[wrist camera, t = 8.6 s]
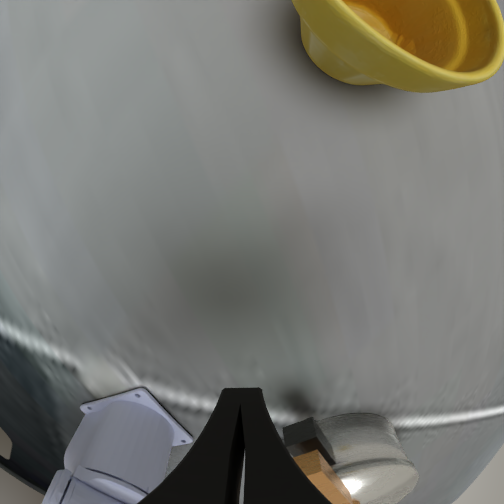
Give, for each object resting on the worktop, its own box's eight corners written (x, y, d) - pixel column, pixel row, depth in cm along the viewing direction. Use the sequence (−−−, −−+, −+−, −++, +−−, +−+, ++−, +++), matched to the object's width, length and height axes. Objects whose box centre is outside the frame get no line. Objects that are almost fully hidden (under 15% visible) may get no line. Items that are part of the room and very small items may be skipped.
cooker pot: (402, 460, 27) (416, 493, 21) (305, 497, 29) (309, 531, 23) (370, 357, 22) (397, 406, 16) (219, 417, 23) (214, 470, 18)
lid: (417, 487, 21) (425, 505, 18) (299, 529, 22) (302, 548, 20) (400, 397, 15) (418, 429, 13) (204, 465, 17) (199, 497, 14)
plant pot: (440, 78, 15) (533, 50, 6) (339, 142, 17) (424, 126, 8) (355, -28, 13) (404, -101, 3) (241, 20, 15) (234, -77, 5)
